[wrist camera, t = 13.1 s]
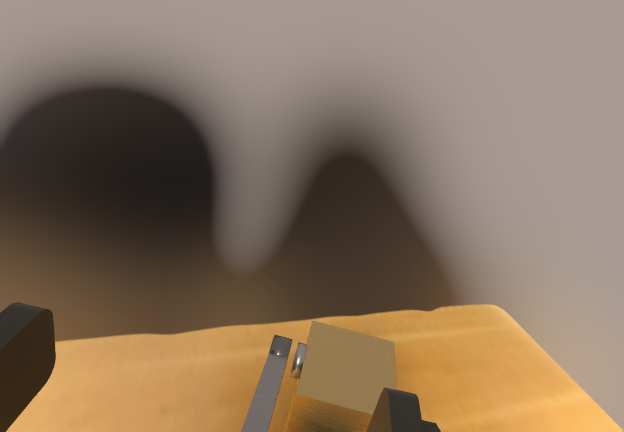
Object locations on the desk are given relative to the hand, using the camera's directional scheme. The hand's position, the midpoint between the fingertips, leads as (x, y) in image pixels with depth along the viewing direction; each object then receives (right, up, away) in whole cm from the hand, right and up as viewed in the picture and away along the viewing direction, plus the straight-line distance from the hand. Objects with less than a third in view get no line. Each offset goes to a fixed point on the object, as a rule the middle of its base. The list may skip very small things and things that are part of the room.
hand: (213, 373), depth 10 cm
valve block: (+3, -22, +34) cm, 41 cm away
